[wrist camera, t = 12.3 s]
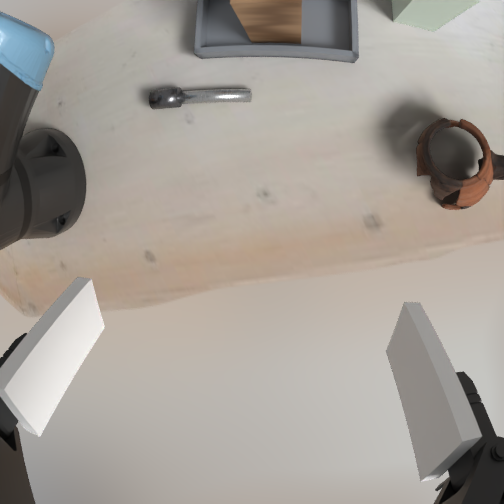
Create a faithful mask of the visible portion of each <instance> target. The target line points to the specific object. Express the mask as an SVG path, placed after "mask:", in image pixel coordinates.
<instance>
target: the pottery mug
mask: <svg viewBox="0 0 504 504" xmlns="http://www.w3.org/2000/svg"><path fill="white" fill-rule="evenodd" d="M449 127H459V128H461V129H464V130H466V131H468V132H469V133H470V134H472V135H473V136H474V137H475V138H476V139H477V141H478V142H479V144H480V146H481V149H482V151H483V158H482V159H479V160H478V164H479V172H478V173H477V174H476V175H474V176H472V177H471V178H468V179H462V180H458V179H453V178H450V177H448V176H446V175H445V174H443V173H442V172H441V171H440V170H439V169H438V168H437V167H436V166H435V164H434V162H433V160H432V157H431V154H430V144H431V141H432V139H433V137H434V135H435V134H436V133H437V132H438V131H440V130H442V129H444V128H449ZM418 144H419V145H418V146H417V148H416V155H417V176H420V175H430V176H431V181H430V182H431V187H432V189H433V191H434V196H436V197H437V198H438V199H440V200H443V198H444V197H445V196H448V195H450V194H451V193H453V192H455V191H457V190H459V196H458V198H457V200H456V204H453V205H452V204H446V203H445V204H442V207H443V208H445V209H449V210H459V209H466V208H468V207H471V206H472V205H474V204H476V203H477V202H479V201H480V199H481V198H482V197H483V196H484V195H485V194H486V193H487V191H488V190H489V185H490V184H491V183H492V181H493V180H504V156H503V155H497V154H495V153H494V152H493V151H492V150H490V147H489V145H488V142H487V140H486V139H485V137H484V135H483V134H482V132H481V131H480V130H479V129H478V128H477V127H476V126H474V125H473V124H472V123H470V122H468V121H466V120H463V119H461V120H460V121H459V122H457V121H454V120H448V119H446V118H442V119H440V120H438V121H436V122H434V123H433V124H431V125H430V126H428V127H427V128H426V129H425V130H424V131H423V133H422V134H421V136H420V138H419V140H418Z"/></svg>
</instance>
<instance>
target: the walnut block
mask: <svg viewBox="0 0 504 504" xmlns="http://www.w3.org/2000/svg"><path fill="white" fill-rule="evenodd" d="M230 4H231V6H232V8H233V10H234V11H235V13H236V15H237V17H238V18H239V20H240V22H241V24H242V26H243V27H244V29H245V31H246V33H247V35H248V36H249V38H250V40H251V42H252V43H290V44H301V26H302V0H230Z"/></svg>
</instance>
